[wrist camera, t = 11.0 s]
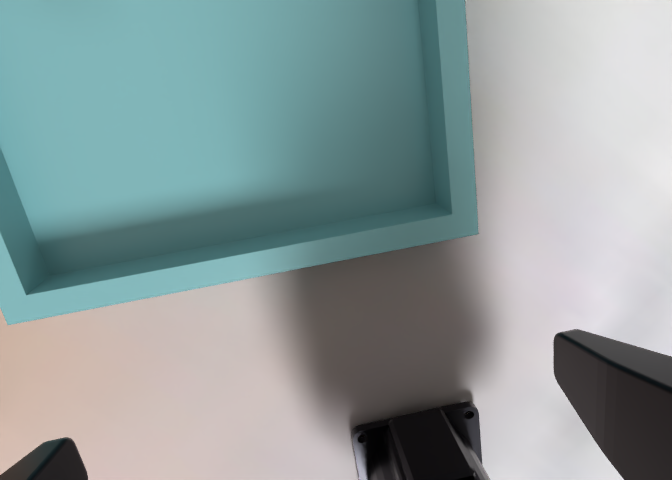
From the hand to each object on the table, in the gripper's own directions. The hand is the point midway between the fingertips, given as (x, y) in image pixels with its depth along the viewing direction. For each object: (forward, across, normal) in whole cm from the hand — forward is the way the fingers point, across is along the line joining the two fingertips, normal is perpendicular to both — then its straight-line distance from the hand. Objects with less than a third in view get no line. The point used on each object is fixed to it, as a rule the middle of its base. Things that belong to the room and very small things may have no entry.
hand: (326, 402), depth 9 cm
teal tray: (+12, +2, -8) cm, 15 cm away
